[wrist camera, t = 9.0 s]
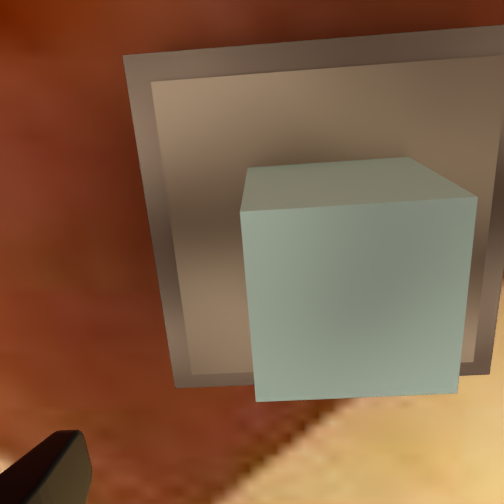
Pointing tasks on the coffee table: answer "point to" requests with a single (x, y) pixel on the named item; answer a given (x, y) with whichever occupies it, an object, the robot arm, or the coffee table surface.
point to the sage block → (355, 278)
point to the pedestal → (306, 162)
